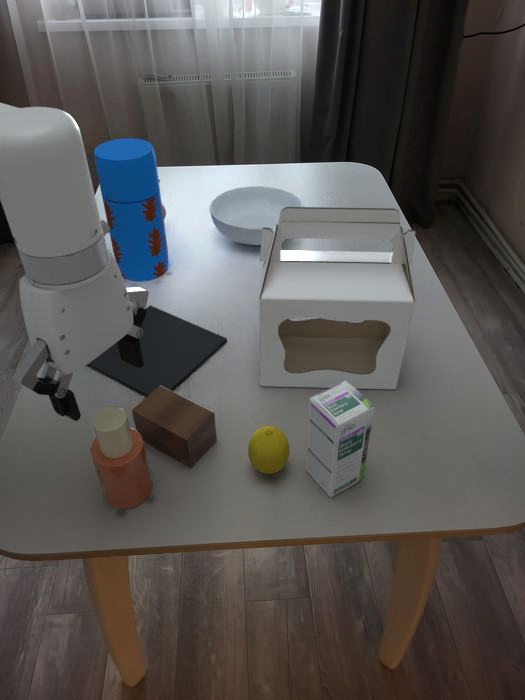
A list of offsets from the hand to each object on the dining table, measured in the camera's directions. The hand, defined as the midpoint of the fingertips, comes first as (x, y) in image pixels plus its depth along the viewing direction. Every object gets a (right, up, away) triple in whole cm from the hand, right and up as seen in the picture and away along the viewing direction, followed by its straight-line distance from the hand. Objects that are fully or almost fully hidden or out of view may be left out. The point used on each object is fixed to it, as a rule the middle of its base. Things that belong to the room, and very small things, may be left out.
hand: (102, 387), depth 62 cm
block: (+5, -9, +19) cm, 22 cm away
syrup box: (+28, -13, +14) cm, 34 cm away
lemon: (+19, -12, +15) cm, 27 cm away
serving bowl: (+17, +31, +65) cm, 74 cm away
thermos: (-7, +21, +54) cm, 59 cm away
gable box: (+29, +2, +32) cm, 43 cm away
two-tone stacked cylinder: (+2, -13, +15) cm, 19 cm away
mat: (-1, +4, +34) cm, 34 cm away
